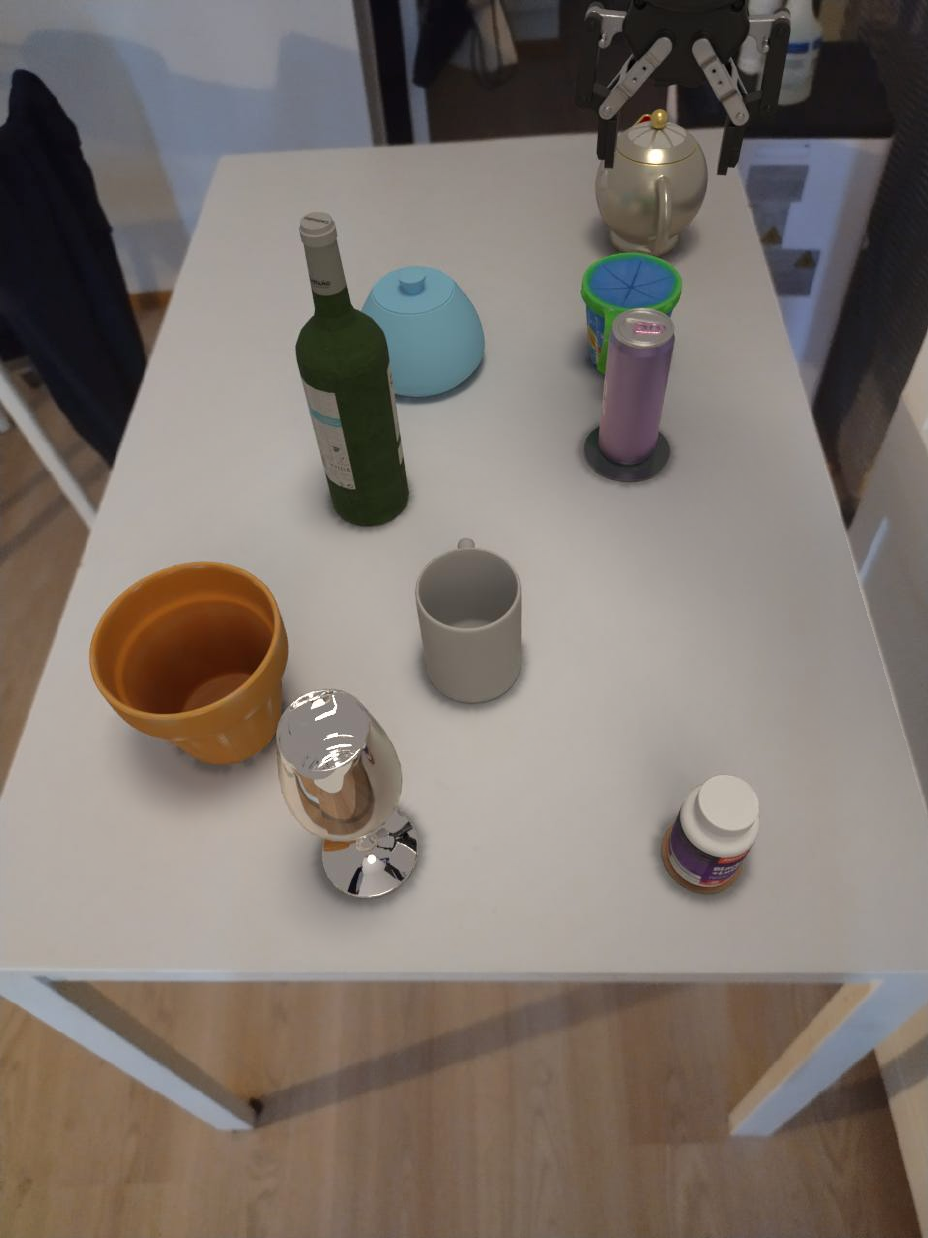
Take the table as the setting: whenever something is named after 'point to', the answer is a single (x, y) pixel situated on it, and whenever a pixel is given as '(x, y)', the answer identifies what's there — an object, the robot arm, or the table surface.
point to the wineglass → (346, 791)
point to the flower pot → (195, 660)
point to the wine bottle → (349, 389)
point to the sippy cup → (625, 294)
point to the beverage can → (635, 384)
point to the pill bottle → (714, 831)
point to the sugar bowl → (426, 330)
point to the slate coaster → (626, 472)
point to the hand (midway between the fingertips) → (665, 166)
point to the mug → (470, 622)
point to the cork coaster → (684, 882)
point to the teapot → (651, 186)
